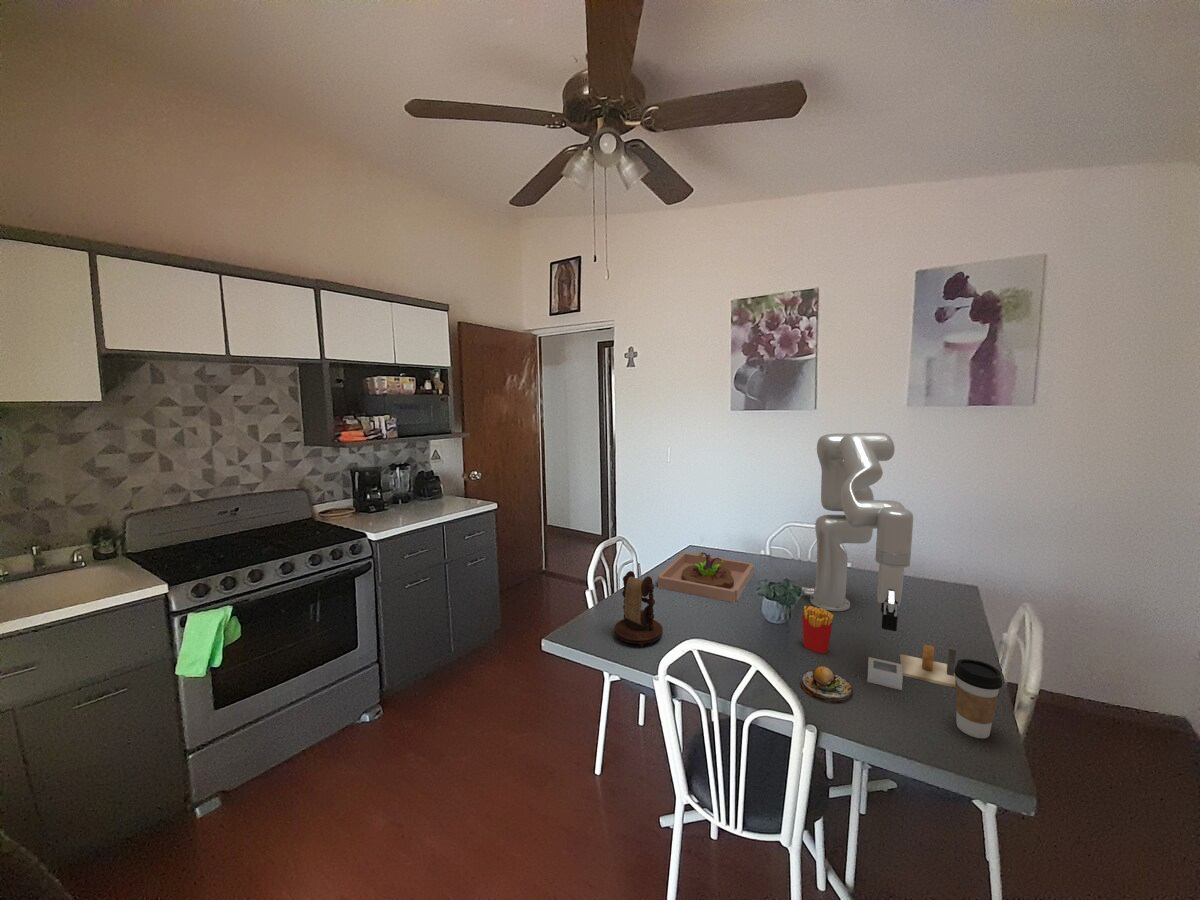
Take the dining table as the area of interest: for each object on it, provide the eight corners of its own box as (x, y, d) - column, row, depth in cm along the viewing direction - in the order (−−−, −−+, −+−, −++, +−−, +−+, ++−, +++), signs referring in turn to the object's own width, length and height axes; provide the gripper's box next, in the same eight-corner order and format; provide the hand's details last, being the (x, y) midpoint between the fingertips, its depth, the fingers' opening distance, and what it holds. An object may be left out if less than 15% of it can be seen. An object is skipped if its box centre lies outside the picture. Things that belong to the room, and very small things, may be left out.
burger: (862, 700, 121) (864, 672, 120) (820, 708, 118) (821, 679, 117) (830, 672, 133) (831, 646, 131) (790, 678, 130) (792, 652, 129)
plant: (680, 569, 205) (681, 543, 203) (729, 570, 202) (729, 544, 201) (682, 589, 185) (682, 560, 184) (735, 591, 183) (736, 562, 181)
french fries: (799, 645, 146) (800, 606, 144) (805, 640, 148) (807, 602, 147) (828, 656, 139) (830, 616, 138) (834, 651, 142) (836, 612, 140)
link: (867, 681, 128) (868, 669, 127) (867, 669, 133) (868, 657, 133) (901, 690, 124) (902, 677, 124) (900, 676, 130) (901, 664, 129)
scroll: (604, 637, 152) (603, 575, 149) (633, 619, 163) (633, 561, 160) (643, 654, 142) (643, 588, 140) (671, 634, 153) (672, 572, 151)
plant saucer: (656, 588, 188) (656, 576, 188) (683, 562, 214) (683, 552, 214) (735, 604, 174) (736, 592, 173) (754, 574, 200) (754, 563, 199)
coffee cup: (940, 717, 114) (945, 657, 112) (974, 715, 115) (980, 654, 112) (970, 744, 106) (976, 679, 104) (1007, 741, 106) (1014, 676, 104)
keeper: (901, 675, 130) (903, 647, 129) (900, 656, 139) (901, 629, 138) (957, 688, 124) (959, 658, 123) (952, 667, 133) (954, 640, 132)
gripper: (875, 544, 133) (872, 604, 136) (875, 565, 118) (871, 633, 121) (908, 548, 130) (904, 610, 132) (912, 571, 115) (907, 640, 117)
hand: (888, 621), depth 126 cm, fingers open, 9 cm apart
